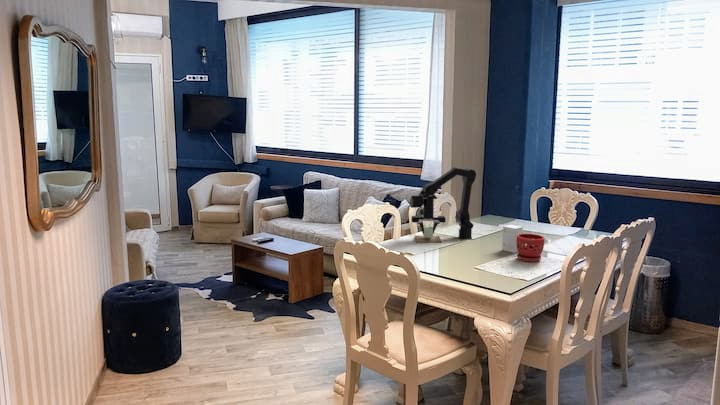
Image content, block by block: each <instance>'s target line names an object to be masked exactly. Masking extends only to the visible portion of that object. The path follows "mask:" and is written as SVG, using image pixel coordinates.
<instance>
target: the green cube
mask: <svg viewBox="0 0 720 405" xmlns="http://www.w3.org/2000/svg"><path fill="white" fill-rule="evenodd" d="M423 229H424V234H423V233H422V236H424V237H433V236H434V234H433V226H423Z"/></svg>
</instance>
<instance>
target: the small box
mask: <svg viewBox="0 0 720 405" xmlns="http://www.w3.org/2000/svg"><path fill="white" fill-rule="evenodd" d="M523 232H524V229H523V226H520V225H519V226H518V225H514V224H507V225H503V226H502V240H501V242H502V245H501V246H502V247H501V251H505V252H509V253H512V254H513V253H514V254H516V253H517V254H518V250H517V244H516V243H517V235H518V234H523Z"/></svg>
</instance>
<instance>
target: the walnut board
mask: <svg viewBox="0 0 720 405" xmlns="http://www.w3.org/2000/svg"><path fill="white" fill-rule="evenodd" d="M414 240H415V243H416V244H417V243H418V244H419V243H420V244H422V243H423V244H425V243H426V244H429V243H430V244H431V243H432V244H437V243H438V244H439V243H440V244H441V243H442V239H441V237H440V235H433V237H424V236H423V235H415V236H414Z"/></svg>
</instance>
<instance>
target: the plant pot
mask: <svg viewBox="0 0 720 405" xmlns="http://www.w3.org/2000/svg"><path fill="white" fill-rule="evenodd" d="M545 242H546V240H545V236H543V235H540V234H535V233H522V234H518V235H517V243H516V244H517V250H518V252H517V254H516V257H517V258H518V259H519V260H520V261H523V262H528V261H529V262H530V263H532V262H533V263H534V262H538V261H540V260H541V259H542V256H541V254H543V250H544V246H545Z"/></svg>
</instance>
